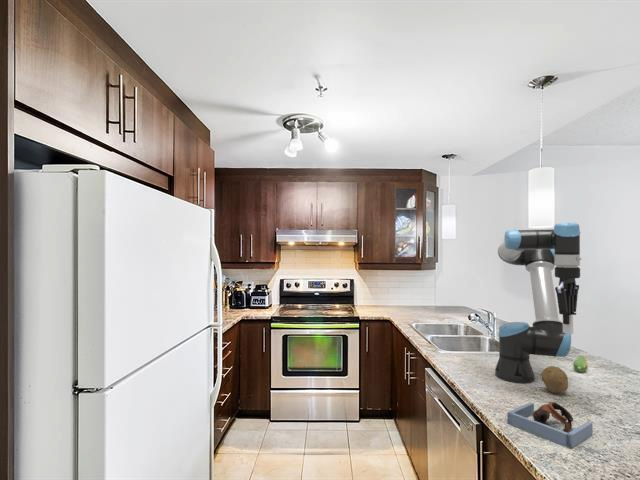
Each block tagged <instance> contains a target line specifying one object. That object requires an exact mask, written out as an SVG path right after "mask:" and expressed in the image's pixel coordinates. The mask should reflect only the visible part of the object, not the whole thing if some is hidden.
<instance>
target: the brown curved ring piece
mask: <svg viewBox="0 0 640 480" xmlns="http://www.w3.org/2000/svg"><path fill="white" fill-rule="evenodd" d="M558 411H560V412H558ZM550 417H552V418H554V419H555V420H556V421H559V422H560V423H562V424H563V425H564V427H563V430H562V431H564V432H567V433H569V432H570V431H571V429H572V426H573V421H574V418H573V415H572V414H571V413H570V412H569V411H568V410H567V409H566V408H565V407H564V406H562V405H560V404H558V403H557V402H555V401H549V402H548V403H546V404H545V403H544V404H542V405H540V407H538V409H536V410H534V413H533V415H532V418H533V420H534V421H537V422H540V423H542V424H545V425H546V423H547V421H548V420H549V419H550Z"/></svg>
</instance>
